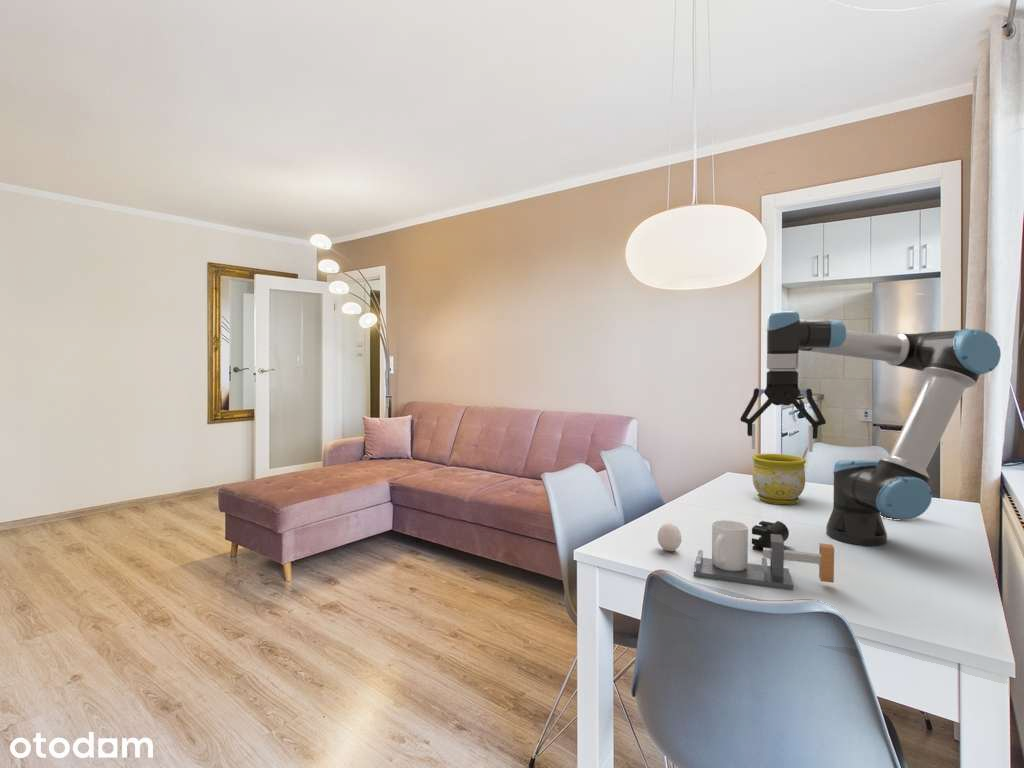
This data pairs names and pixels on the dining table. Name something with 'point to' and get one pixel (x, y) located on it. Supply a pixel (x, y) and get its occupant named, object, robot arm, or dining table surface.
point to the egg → (669, 536)
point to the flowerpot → (778, 477)
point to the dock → (751, 569)
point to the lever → (812, 560)
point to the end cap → (768, 534)
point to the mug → (729, 545)
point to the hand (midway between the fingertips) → (781, 449)
